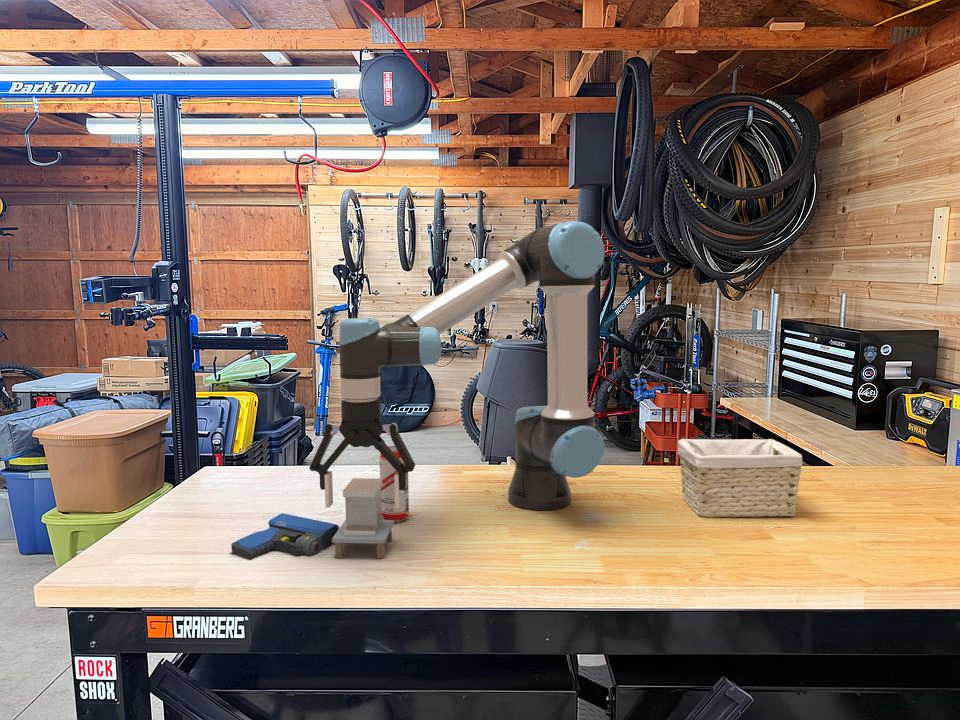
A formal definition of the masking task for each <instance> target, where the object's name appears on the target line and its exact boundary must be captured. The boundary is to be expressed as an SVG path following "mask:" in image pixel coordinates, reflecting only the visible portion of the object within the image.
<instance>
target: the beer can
mask: <svg viewBox="0 0 960 720" xmlns="http://www.w3.org/2000/svg"><path fill="white" fill-rule="evenodd" d="M387 446H388V447H389V448H390V449H391V451H392V452H393V453H394V454H395V455H396V456H397V457H398V458H399V460H400V461H401V462H402V463H403V464H404V462H403V460H402V458H401V456H400V454H399V453H398V451H397V449H396V447H395V445H387ZM404 465H405V464H404ZM396 472H397V471H396V470H395V469H394V468H393V467H392V465H391V464H390V463H389V462H388V461H387V460H386V459H385V457H384V456H383V455H382V454H381V453H380V455H379V479H382V486H381V510H382V516H383V520H394V524H395V523H401V522H404V521H405V520H406V519H407V518H408V516H409V515H410V499H409V497H410V496H409V495H410V494H409V493H410V492H409V472H407V473H406V487H405V489H404V490H401V505H400V507H399V508H395V481H394V475H395V474H396Z"/></svg>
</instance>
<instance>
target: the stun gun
mask: <svg viewBox="0 0 960 720" xmlns="http://www.w3.org/2000/svg"><path fill="white" fill-rule="evenodd" d="M267 524H268V527H267V529H264V530H261V531H260V530H259V531H255V532H253V533H251V534H247V535H246V536H244V537H242V538H239V539H238V540H235V541H233V542H232V543H231V544H230V547H231V553H232V554H233V555H235V556H239V557H241V558H245V559H247V560H252V559H253V558H255V557H258V556H260V555H262V554H265V553H268V552H270V551H272V550H275V551H281V552H284V553H289V554H290V555H293V556H300V555H308V556H314V555H315V554H316V553H318V552H319V551H321V550H324V551H325V550H326V549H328V548H330V547H332V546H335V543H332V538H333V537H334V535H335V534H336V532H337V531H338V529H339V528H340V525H338V524H337V523H332V522H328V521H327V522H326V521H322V520H318V519H317V520H316V519H314V518H312V519H311V518H308V517H303V516H302V517H301V516H299V515H293V514H288V513H284V512H282V513H279V514H278V515H276V516H274V517H273V518H271V519H269V521H268V523H267Z"/></svg>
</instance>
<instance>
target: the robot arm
mask: <svg viewBox="0 0 960 720" xmlns="http://www.w3.org/2000/svg"><path fill="white" fill-rule="evenodd" d="M605 251H606V250H605V245H604V241H603V239H602V237H601V235H600V233H599V232H598V231H596V229H595V228H594V227H593V226H591V225H590V224H588V223H586V222H582V221H579V220H578V221H577V220H576V221H572V220H571V221H570V220H569V221H562V222H559V223H556V224H552V225H548V226H546V225H545V226H542V227H539V228H537V229H535V230H532V231H531V232H529V233H528V234H527V235H525V236H523V237H522V238H521V239H519V240H517V241H516V242H515V243H513V244H512V245H510V246H509V247H508V248H506V249H504V250H503V251H501V252H499V254H498V259H496V260H495V261H493V262H492V263H489V264H488V265H486V266H485V267H483V268H482V269H480V270H478V271H477V272H475V273H473V274H471V275H469V276H468V277H467V278H464V279H463V280H461V281H460V282H458V283H457V284H455V285H453V286H451V287H450V288H448V289H447V290H445V291H443V292H442V293H440V294H439V295H436V296H435V297H433V298H432V299H430V300H429V301H427V302H425V303H424V304H422V305H420V306H418V307H417V308H415V309H413V310H412V311H409V312H408V313H407V314H405V315H404V316H401V317H400V318H399V319H397V320H395V321H393V322H389V323H386V324H384V325H382V326H381V325H380V321H379V319H377V318H373V317H371V318H369V317H367V318H366V317H365V318H363V317H361V318H359V317H356V318H345V319H342V320H341V322H340V324H339V337H338V338H339V339H338V340H339V341H338V348H339V350H338V351H339V370H340V371H339V372H340V374H339V375H340V376H339V377H340V398H341V399H342V401H340V409H341V410H340V412H341V413H340V414H341V417H340V418H341V423H340V424H338V423H334V422H333V421H330V422H329V423H327V424H326V425H325V426H324V435H323V437H322V439H321V442H320V444H319V445H318V448H317V450H316V452H315V454H314V456H313V458H312V461H311V463H310V465H309V468H308V469H309V470H310V471H311V472H316V473H318V476H319V488H320V490H321V491H323V490H324V501H325V503H324V504H325V508H330V507H331V506H333V504H334V489H333V488H334V487H333V486H334V485H333V484H334V483H333V470H329V469H330V468H331V467H332V465H333V463H335V462H336V461H337V459H338V458H339V457H340V456H341V455H342V453H343V452H344V450H346V449H347V447H348V446H349V445H350V446H351V447H352V448H359V447H362V448H363V447H364V448H369V447H371V446H373V447H374V449H375V450H377V451H378V452H379V453H380V455H381V454H382V455H383V456H384V457H385V459H386V460H387V461H388V462H389V463H390V464H391V465H392V467H393V468H394V469H395V470H396V471H397V472H396V474H395V475H394V481H395V508H399V507H400V505H401V490H404V489H405V487H406V473H407V472H408V473H410V472H413V471H414V469H415V467H416V463H415V460H414V459H413V458H412V456H411V454H410V451H409V450H408V448H407V446H406V444H405V442H404V440H403V439H402V436H401V435H400V432H399V425H398V423H397V422H396V421H394V422H392V423H390V424H389V423H388V424H387V423H386V424H383V422H382V421H383V420H382V407H381V406H382V404H381V403H382V401H381V400H380V398H379V397H380V396H381V392H382V391H381V368H382V367H383V368H387V367H405V366H406V367H407V366H409V367H412V366H413V367H414V366H421V367H424V366H428V365H435V364H437V363H438V362H439V361H440V359H441V355H442V339H441V334H443V333H445V332H446V331H448V330H450V329H451V328H453V327H455V326H456V325H458V324H460V323H461V322H463V321H464V320H466V319H468V318H469V317H471V316H472V315H474V314H476V313H477V312H479V311H480V310H482V309H484V308H485V307H488V305H490V304H492V303H493V302H495V301H496V300H498V299H500V298H502V297H503V296H505V295H507V294H509V292H511V291H513V290H514V289H518V290H523V289H525V288H526V287H528V286H529V285H531V284H533V283H536V282H539V289H540V290H541V291H543V293H544V294H545V296H546V339H547V340H546V347H547V348H546V349H547V350H546V351H547V353H546V354H547V355H546V356H547V357H546V358H547V362H546V363H547V368H546V369H547V405H536V406H535V405H533V406H522V407H520V408H518V409H517V410H516V412H515V420H514V426H515V427H514V428H515V432H514V433H515V434H514V435H515V436H514V437H515V443H514V446H515V451H514V452H515V454H514V455H515V466H514V472H513V475H512V477H511V481H510V484H509V487H508V490H507V493H508V495H507V497H508V498H507V499H508V500H507V501H508V502H509V503H510V505H513V506H516V507H517V508H520V509H525V510H533V511H551V510H559V509H561V508H565V507H567V506H569V505H570V504H571V501H572V492H571V488H570V484H569V482H568V479H567V477H568V478H573V479H574V478H575V479H577V478H582V477H585V476H587V475H589V474H591V473H592V472H593V471H594V470H595V469H596V467H598V466H599V465H600V463H601V461H602V459H603V457H604V454H605V443H604V441H605V440H604V439H603V436H602V434H601V433H600V432H599V431H598V430H597V429H596V428H595V427H596V426H595V423H596V422H595V419H596V418H595V417H596V416H595V415H596V414H595V412H594V410H592V408H591V407H589V405H588V295H589V293H590V292H591V291H592V290H593V289H594V288H595V274H597V273H598V271H599V269H600V268H601V267H602V266H603V263H604V260H605V256H606V255H605ZM338 432H340V434H341V435H342V437H343V438H344V439H343V440H342V441H341V442H340V444H339V445H338V446H337V448H336V449H335V450H333V452H332V453H331V455H330V456H329V457H328V458H327V459H326V461H325V462H324V463H323V464H321V462H322V460H323V458H324V456H325V454H326V452H327V450H328V447H329V445H330V444H331V441H332V439H333V437H334V436H335V435H337V433H338ZM383 432H386V435H388V436H390V439H391V441H392V443H393V446H395V447H396V449H397V451H398V453H399V454H400V456H401V458H402V460H403V462H404V464H405V465H404V464H403V463H402V462H401V461H400V460H399V458H398V457H397V456H396V455H395V454H394V453H393V452H392V451H391V449H390V448H389V447H388V446H389V445H387V444H386V442H385V440H384V439H383V438H382V437H381V435H382V433H383Z"/></svg>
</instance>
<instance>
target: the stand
mask: <svg viewBox="0 0 960 720" xmlns="http://www.w3.org/2000/svg"><path fill="white" fill-rule="evenodd" d="M394 525H395V523H394V520H384V519H383V523H382V525H381V527H380V529H379V531H378V533H377V535H376V537H344V530H345V528H346V519H344V521H343V522H342V524H341V525H340V526H339V529H338V531H337V532H336V534H335V535H334V537H333V538H332V543H335V544H334V553H335V554H334V558H335V559H342V558H343V557H344V545H343V544H376V558H377V559H378V560H379V559H380V560H381V559H384V558H385V543H392V540H393V526H394Z"/></svg>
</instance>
